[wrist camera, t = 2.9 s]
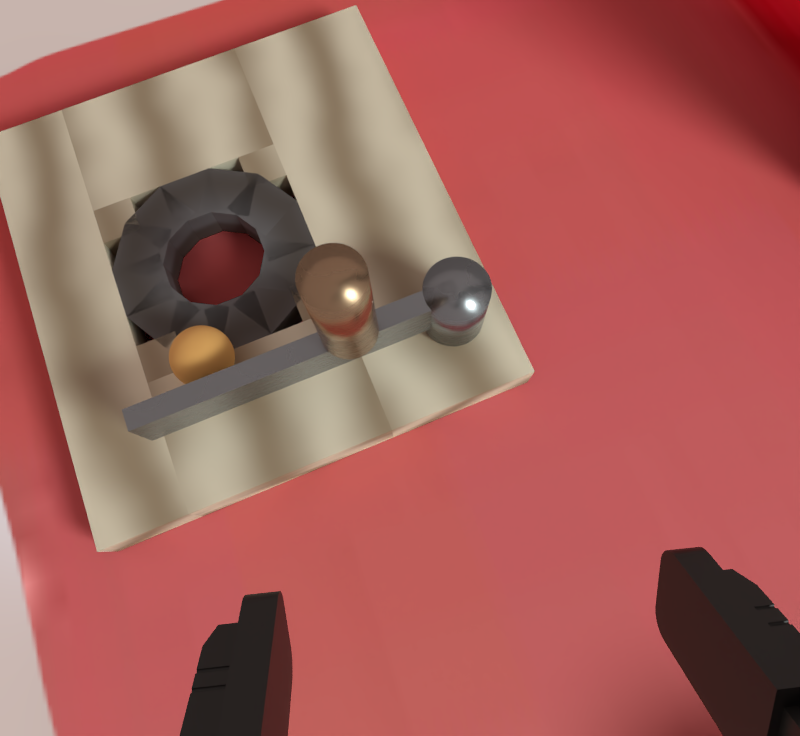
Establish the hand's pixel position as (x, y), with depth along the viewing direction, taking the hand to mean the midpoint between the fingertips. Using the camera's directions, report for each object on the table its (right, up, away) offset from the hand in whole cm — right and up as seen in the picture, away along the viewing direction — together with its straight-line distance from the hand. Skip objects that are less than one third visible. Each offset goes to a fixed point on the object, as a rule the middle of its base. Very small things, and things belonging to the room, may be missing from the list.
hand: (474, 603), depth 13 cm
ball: (-13, +6, +22) cm, 26 cm away
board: (-11, +12, +28) cm, 32 cm away
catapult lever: (-6, +5, +23) cm, 25 cm away
